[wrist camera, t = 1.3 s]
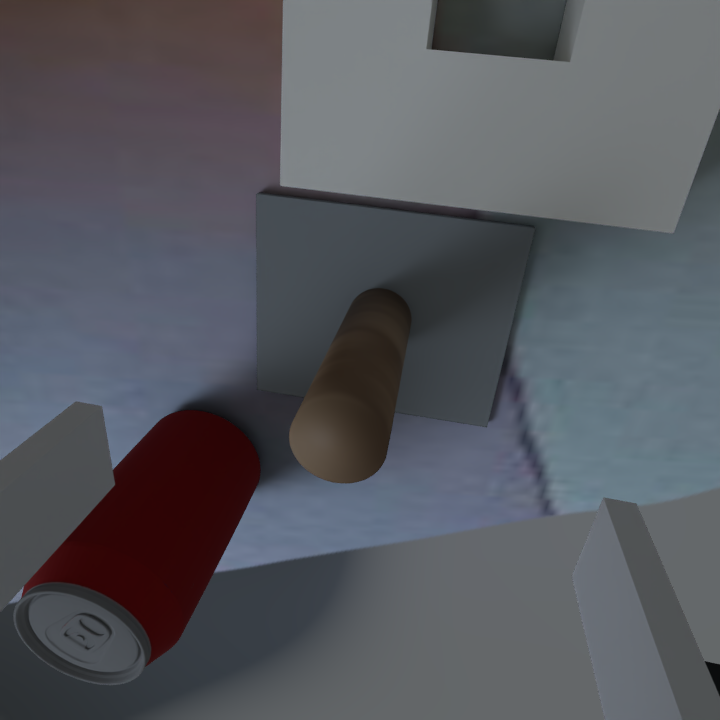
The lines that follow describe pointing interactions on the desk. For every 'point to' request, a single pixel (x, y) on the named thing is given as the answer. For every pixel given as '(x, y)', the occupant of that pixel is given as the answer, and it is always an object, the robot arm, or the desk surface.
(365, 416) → the peg
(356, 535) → the desk surface
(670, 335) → the desk surface
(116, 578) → the beverage can
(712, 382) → the desk surface
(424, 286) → the mat
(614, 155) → the hole block
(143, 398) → the desk surface
